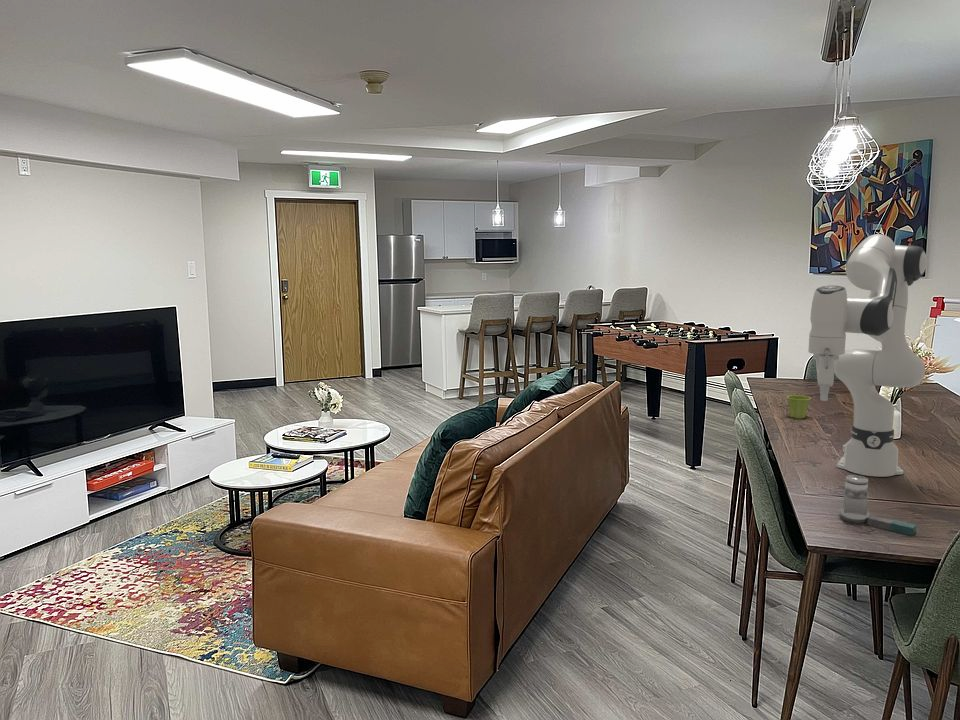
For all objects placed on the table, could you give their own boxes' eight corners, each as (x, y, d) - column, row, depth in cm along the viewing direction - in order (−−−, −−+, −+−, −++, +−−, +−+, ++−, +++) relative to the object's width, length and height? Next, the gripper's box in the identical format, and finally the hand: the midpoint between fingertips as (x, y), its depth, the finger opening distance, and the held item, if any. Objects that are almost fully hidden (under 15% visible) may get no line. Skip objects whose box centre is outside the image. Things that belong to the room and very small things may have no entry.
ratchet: (835, 520, 189) (836, 500, 188) (844, 513, 193) (845, 493, 193) (910, 538, 176) (912, 517, 176) (917, 530, 181) (919, 509, 180)
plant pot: (783, 414, 308) (784, 394, 307) (806, 415, 306) (807, 395, 305) (788, 419, 299) (789, 399, 298) (812, 420, 297) (813, 399, 296)
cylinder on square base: (842, 506, 192) (845, 473, 190) (865, 508, 190) (867, 476, 188) (843, 512, 187) (846, 479, 186) (866, 515, 185) (869, 482, 183)
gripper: (841, 352, 181) (837, 405, 183) (838, 342, 199) (835, 391, 202) (814, 351, 184) (810, 403, 186) (813, 341, 202) (810, 389, 204)
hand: (823, 397), depth 194 cm, fingers open, 8 cm apart
